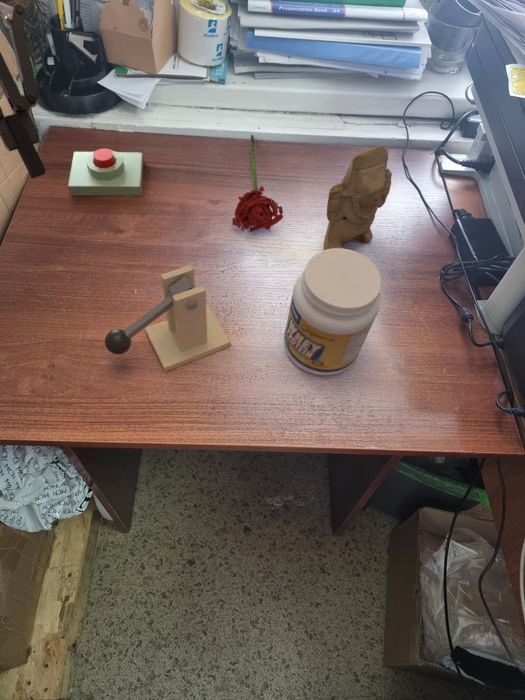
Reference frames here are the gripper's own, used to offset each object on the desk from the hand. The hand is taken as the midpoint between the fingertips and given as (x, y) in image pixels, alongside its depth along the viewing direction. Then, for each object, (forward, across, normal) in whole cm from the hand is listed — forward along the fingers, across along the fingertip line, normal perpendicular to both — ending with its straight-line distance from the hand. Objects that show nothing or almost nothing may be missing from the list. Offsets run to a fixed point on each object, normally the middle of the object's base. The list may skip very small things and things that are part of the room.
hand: (38, 174), depth 60 cm
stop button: (-3, +17, +34) cm, 38 cm away
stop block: (0, +17, +37) cm, 41 cm away
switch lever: (+23, +6, +3) cm, 24 cm away
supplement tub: (+37, +28, -1) cm, 46 cm away
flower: (+12, +42, +24) cm, 50 cm away
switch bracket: (+28, +11, +8) cm, 31 cm away
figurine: (+26, +46, +10) cm, 54 cm away
